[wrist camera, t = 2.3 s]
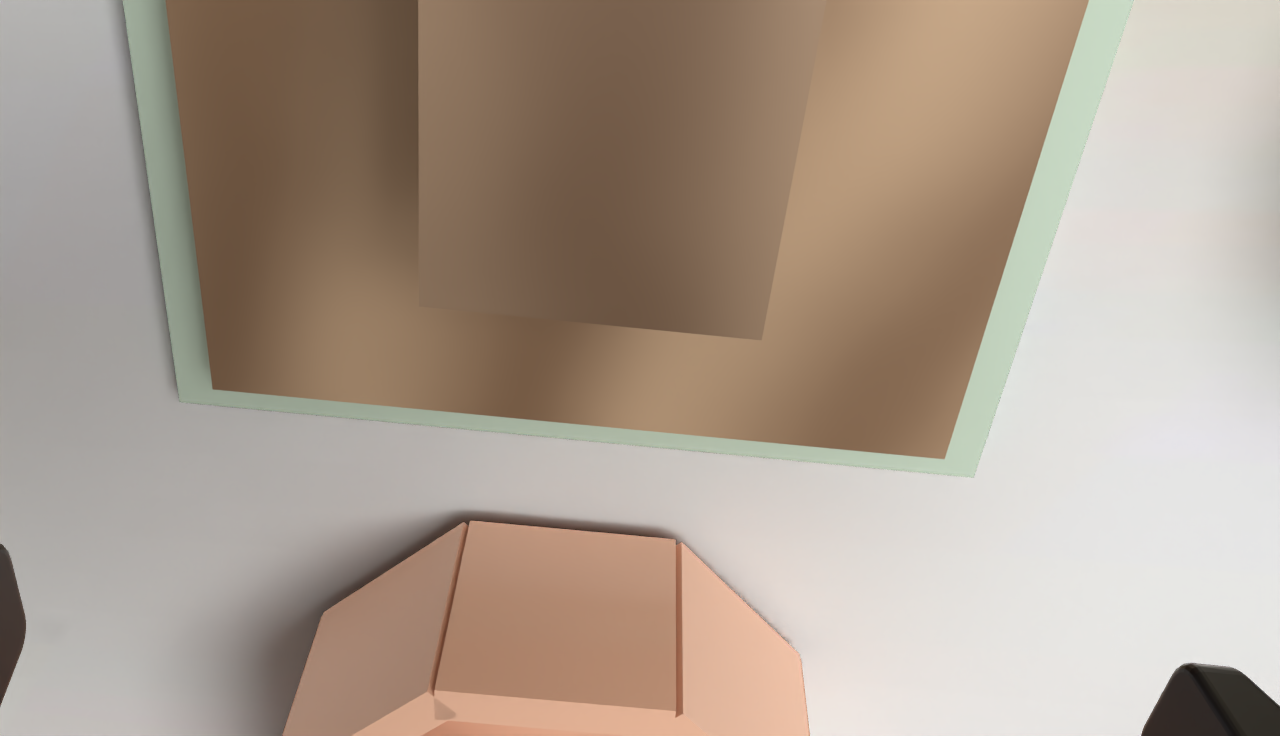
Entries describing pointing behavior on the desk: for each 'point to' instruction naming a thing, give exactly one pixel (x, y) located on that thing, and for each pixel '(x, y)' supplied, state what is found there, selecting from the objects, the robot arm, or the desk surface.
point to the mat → (962, 457)
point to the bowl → (548, 645)
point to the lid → (616, 204)
